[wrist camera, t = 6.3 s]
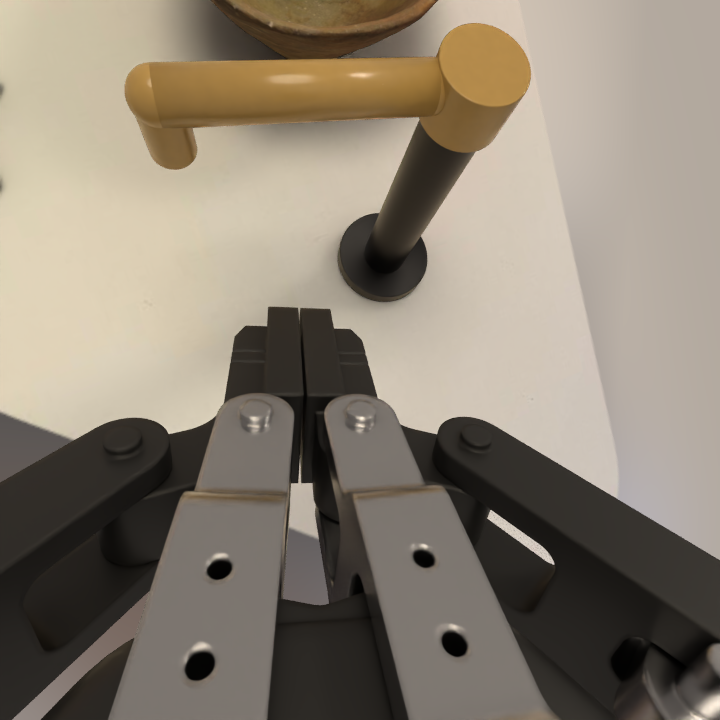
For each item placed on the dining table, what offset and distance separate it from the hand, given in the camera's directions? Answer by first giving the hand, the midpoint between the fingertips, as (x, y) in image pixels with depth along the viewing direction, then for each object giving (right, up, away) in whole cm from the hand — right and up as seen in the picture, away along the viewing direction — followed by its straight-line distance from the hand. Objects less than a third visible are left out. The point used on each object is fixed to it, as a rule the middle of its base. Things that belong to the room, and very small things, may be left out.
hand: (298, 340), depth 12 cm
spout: (0, +10, +11) cm, 14 cm away
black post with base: (+3, +8, +27) cm, 28 cm away
